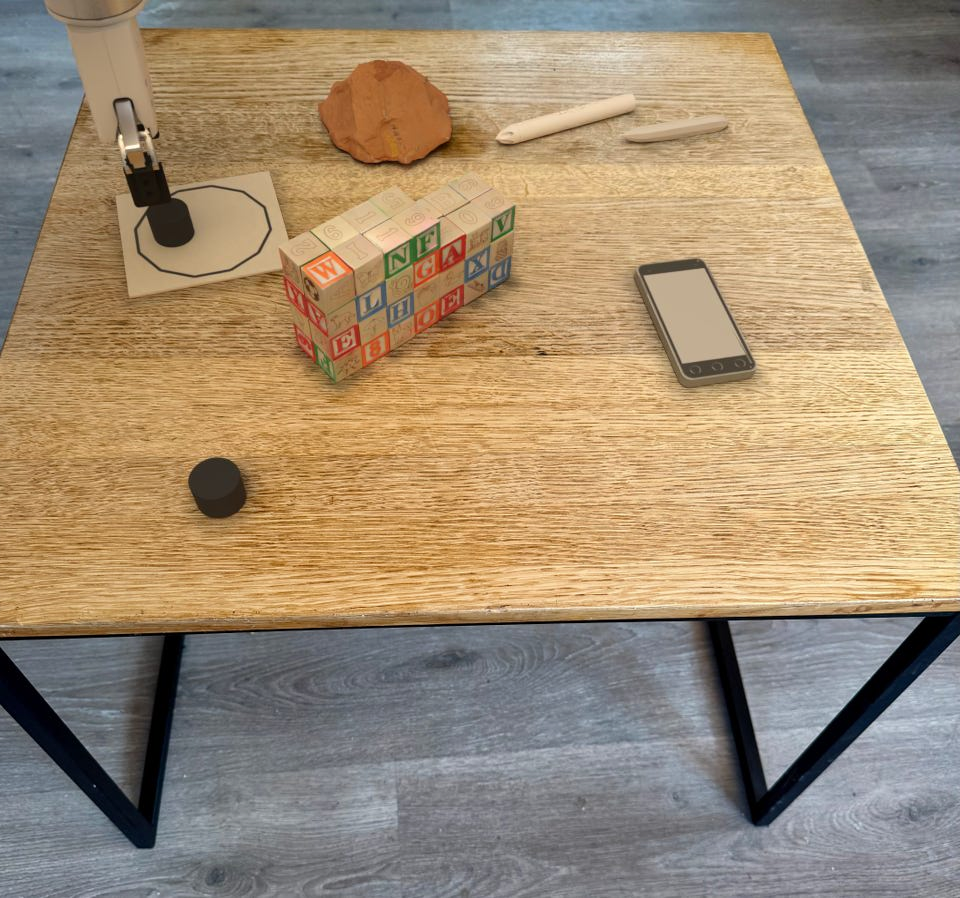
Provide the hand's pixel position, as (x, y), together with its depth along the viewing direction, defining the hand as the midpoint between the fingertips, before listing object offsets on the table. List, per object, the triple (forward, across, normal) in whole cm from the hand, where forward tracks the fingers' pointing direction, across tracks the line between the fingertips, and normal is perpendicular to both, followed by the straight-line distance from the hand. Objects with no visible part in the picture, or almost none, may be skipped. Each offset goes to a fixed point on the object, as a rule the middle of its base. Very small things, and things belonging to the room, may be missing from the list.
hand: (148, 170), depth 81 cm
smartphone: (+8, +24, +46) cm, 53 cm away
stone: (+8, -12, +26) cm, 30 cm away
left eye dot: (+8, -1, +1) cm, 8 cm away
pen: (+8, -3, +58) cm, 58 cm away
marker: (+8, -8, +46) cm, 47 cm away
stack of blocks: (+9, +16, +20) cm, 27 cm away
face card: (+8, 0, +4) cm, 9 cm away
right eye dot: (+9, +32, 0) cm, 33 cm away
